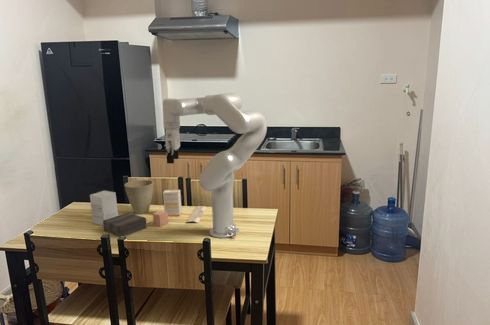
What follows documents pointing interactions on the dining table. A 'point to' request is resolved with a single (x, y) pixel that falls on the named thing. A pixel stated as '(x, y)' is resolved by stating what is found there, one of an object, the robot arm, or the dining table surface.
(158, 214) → the terracotta block
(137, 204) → the plant pot
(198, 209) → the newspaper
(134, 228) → the black plinth
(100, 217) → the supplement box
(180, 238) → the dining table surface
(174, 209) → the supplement box
